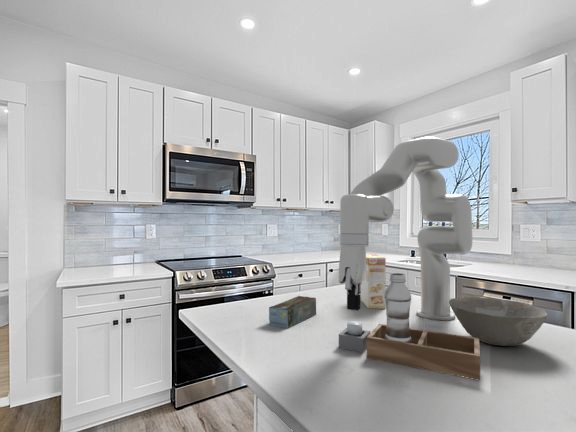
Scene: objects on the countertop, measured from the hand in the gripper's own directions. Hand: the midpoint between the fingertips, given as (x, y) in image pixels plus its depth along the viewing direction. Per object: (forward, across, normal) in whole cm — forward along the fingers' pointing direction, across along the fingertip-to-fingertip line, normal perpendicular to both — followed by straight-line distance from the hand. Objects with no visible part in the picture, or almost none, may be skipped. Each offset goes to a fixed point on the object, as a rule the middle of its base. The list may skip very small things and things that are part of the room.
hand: (353, 309), depth 90 cm
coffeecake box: (+9, -48, -8) cm, 50 cm away
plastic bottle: (+10, 0, +11) cm, 15 cm away
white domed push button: (+6, 0, 0) cm, 6 cm away
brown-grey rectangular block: (+10, -14, -26) cm, 31 cm away
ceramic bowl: (+10, -22, +33) cm, 41 cm away
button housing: (+10, 0, 0) cm, 10 cm away
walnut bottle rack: (+10, 0, +17) cm, 20 cm away
